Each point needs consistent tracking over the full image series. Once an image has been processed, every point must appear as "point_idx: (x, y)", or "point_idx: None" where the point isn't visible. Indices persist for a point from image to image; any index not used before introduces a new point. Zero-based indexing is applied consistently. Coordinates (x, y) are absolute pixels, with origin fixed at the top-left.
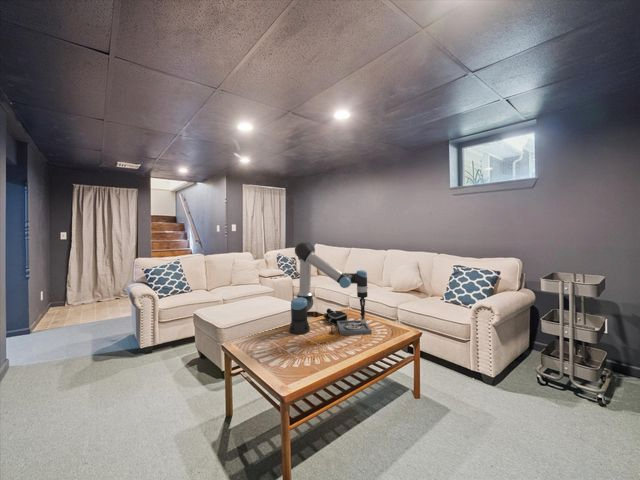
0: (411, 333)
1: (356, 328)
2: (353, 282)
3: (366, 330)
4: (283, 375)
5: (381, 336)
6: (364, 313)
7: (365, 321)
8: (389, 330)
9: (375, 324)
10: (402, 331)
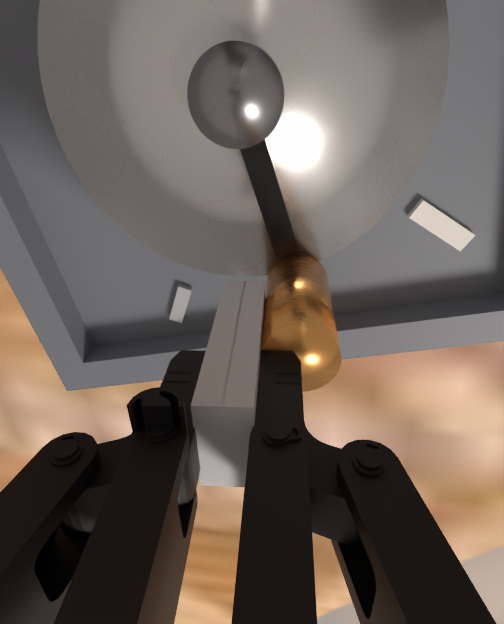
0: (189, 618)
1: (73, 169)
2: None
3: (36, 329)
4: None
5: (41, 440)
6: (48, 545)
7: (468, 340)
8: (236, 517)
9: (445, 427)
10: (224, 586)
